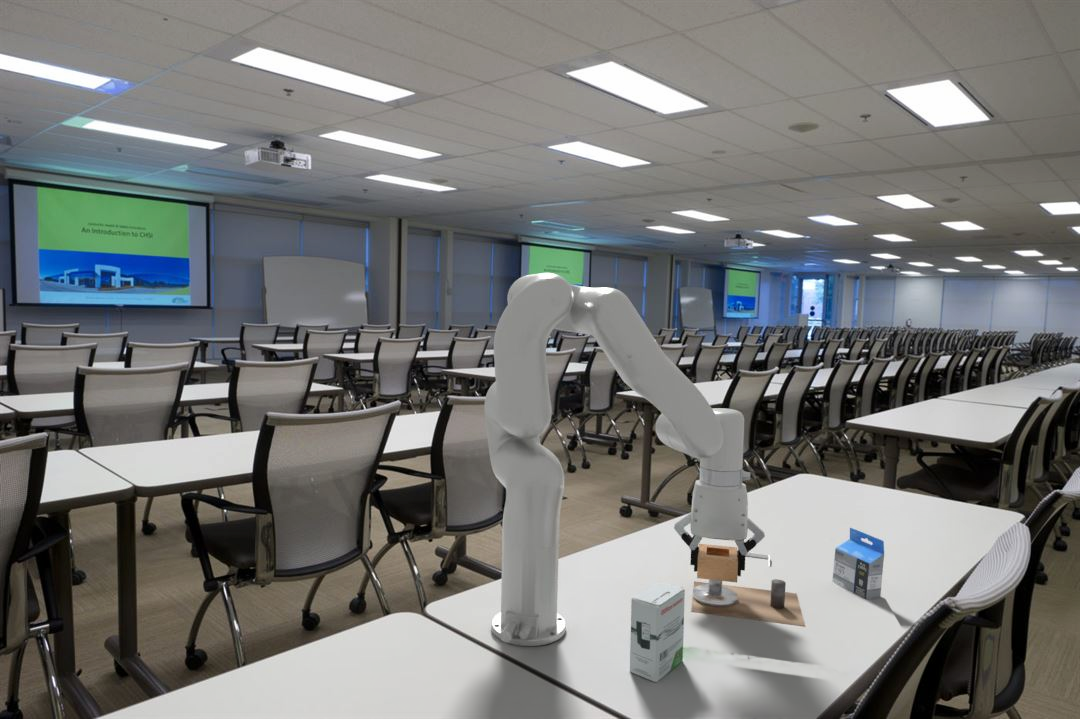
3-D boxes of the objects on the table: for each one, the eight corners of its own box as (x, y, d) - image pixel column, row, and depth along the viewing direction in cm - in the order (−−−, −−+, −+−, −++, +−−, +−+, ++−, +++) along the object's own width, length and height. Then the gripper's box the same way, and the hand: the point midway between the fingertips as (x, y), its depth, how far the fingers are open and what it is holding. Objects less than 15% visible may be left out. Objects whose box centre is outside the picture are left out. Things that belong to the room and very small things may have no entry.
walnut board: (804, 634, 120) (806, 600, 119) (690, 619, 124) (692, 586, 124) (796, 601, 133) (797, 570, 133) (693, 588, 138) (695, 558, 137)
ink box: (656, 650, 113) (659, 579, 112) (684, 661, 110) (687, 587, 109) (627, 672, 106) (630, 596, 105) (655, 684, 103) (658, 605, 102)
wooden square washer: (737, 582, 125) (738, 560, 125) (697, 578, 127) (697, 556, 127) (736, 568, 132) (737, 547, 132) (698, 564, 134) (698, 543, 134)
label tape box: (830, 588, 140) (834, 528, 139) (846, 586, 141) (850, 526, 140) (865, 607, 131) (869, 543, 130) (882, 604, 133) (886, 541, 132)
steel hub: (737, 610, 125) (739, 575, 125) (691, 604, 127) (693, 570, 127) (736, 592, 133) (738, 560, 132) (693, 587, 135) (694, 555, 134)
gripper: (769, 475, 130) (765, 568, 131) (673, 468, 134) (670, 559, 135) (772, 485, 122) (767, 584, 124) (670, 478, 127) (667, 573, 128)
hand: (717, 570), depth 130 cm, fingers closed on wooden square washer, 7 cm apart
